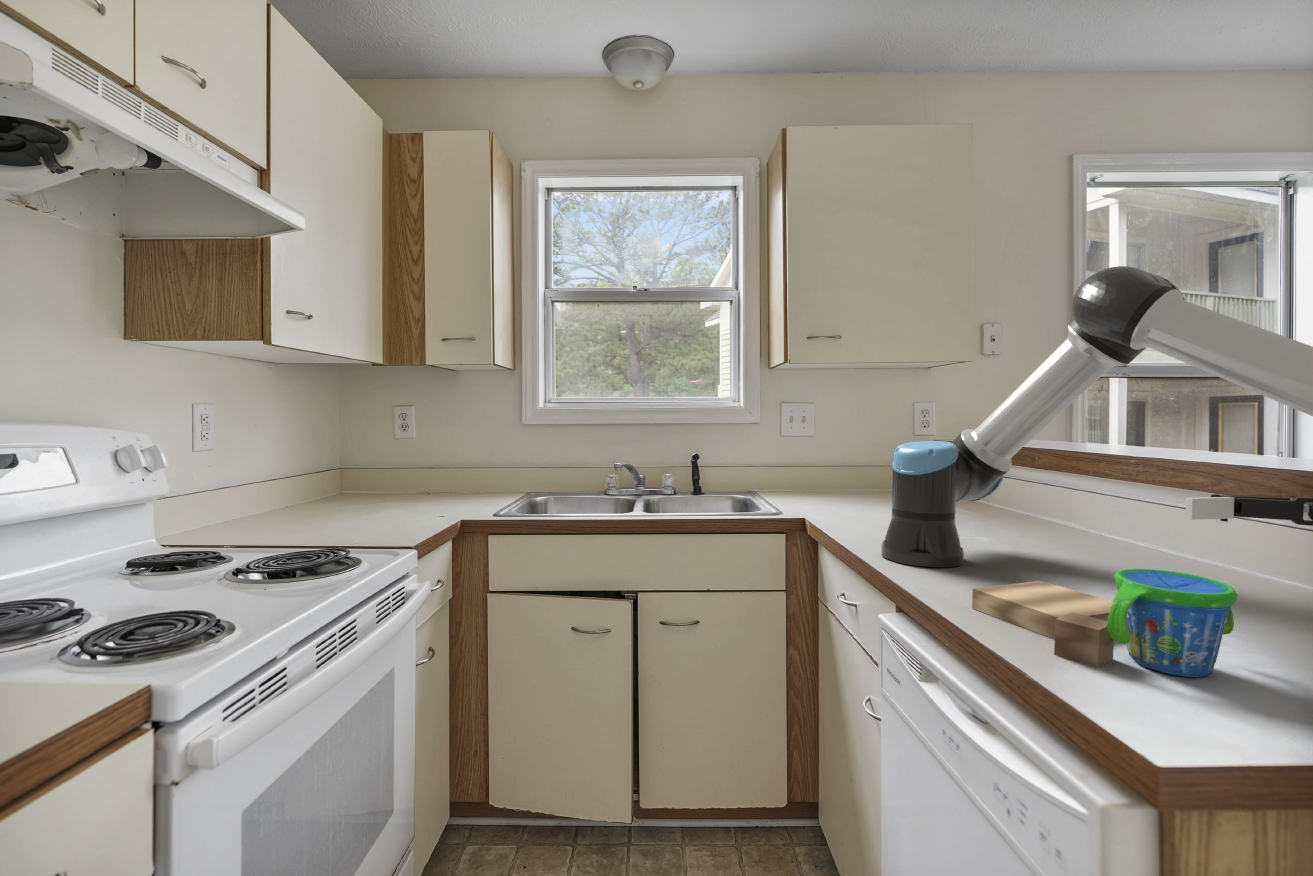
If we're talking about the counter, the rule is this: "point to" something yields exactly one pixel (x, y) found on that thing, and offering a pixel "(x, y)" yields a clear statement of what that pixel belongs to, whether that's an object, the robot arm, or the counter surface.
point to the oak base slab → (1037, 604)
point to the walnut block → (1083, 639)
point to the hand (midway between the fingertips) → (1248, 517)
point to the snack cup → (1171, 619)
